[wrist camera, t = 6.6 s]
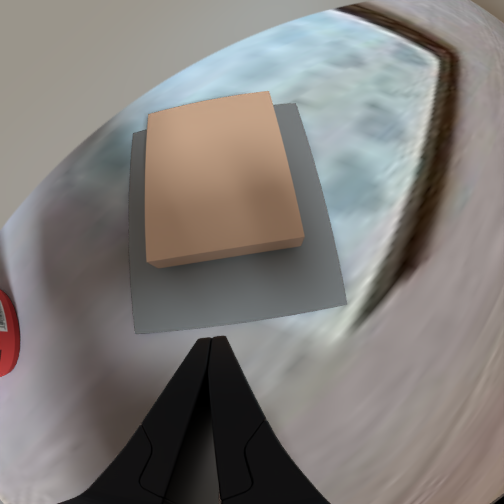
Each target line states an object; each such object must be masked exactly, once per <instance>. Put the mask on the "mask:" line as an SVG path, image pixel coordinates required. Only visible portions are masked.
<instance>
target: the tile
mask: <svg viewBox="0 0 504 504" xmlns="http://www.w3.org/2000/svg"><path fill="white" fill-rule="evenodd" d="M304 237H305V236H304V231H303V226H302V222H301V217H300V212H299V208H298V203H297V199H296V194H295V190H294V186H293V181H292V177H291V173H290V169H289V165H288V161H287V157H286V153H285V149H284V145H283V141H282V137H281V133H280V129H279V125H278V122H277V118H276V114H275V111H274V107H273V103H272V100H271V96H270V93H269V91H264V92H256V93H249V94H242V95H235V96H229V97H223V98H217V99H212V100H206V101H201V102H197V103H192V104H187V105H183V106H179V107H174V108H170V109H166V110H162V111H159V112H155V113H151V114H148V126H147V141H146V163H145V238H146V260H147V263H149V264H151V265H153V266H155V267H157V268H165V267H171V266H177V265H184V264H190V263H197V262H203V261H209V260H216V259H222V258H228V257H235V256H241V255H248V254H254V253H260V252H267V251H273V250H279V249H286V248H292V247H298V246H301V245H302V242H303V240H304Z"/></svg>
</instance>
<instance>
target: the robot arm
mask: <svg viewBox="0 0 504 504" xmlns="http://www.w3.org/2000/svg"><path fill="white" fill-rule="evenodd" d="M141 424H142V425H140V426H139V427H138V429H137V430H136V432H135V433H134V435H133V436H132V437H131V439H130V440H129V442H128V443H127V444H126V446H125V447H124V448H123V450H122V451H121V452H120V453H119V454H118V456H117V457H116V458H115V459H114V460H113V462H112V463H111V464H110V465H109V466H108V467H107V468H106V470H105V471H104V472H103V473H102V474H101V475H100V476H99V477H98V479H97V480H96V481H95V482H94V483H93V484H92V485H91V486H90V487H89V488H88V489H87V490H86V491H85V492H83V493H82V494H80V495H79V496H77V497H75V498H72V499H70V500H67V501H64V502H61V503H58V504H218V497H219V491H220V498H221V501H222V502H221V504H330V503H329V502H328V501H327V500H326V499H325V498H324V497H323V495H322V494H321V493H320V492H319V491H318V490H317V489H316V488H315V486H314V485H313V484H312V483H311V482H310V481H309V479H308V478H307V477H306V476H305V475H304V474H303V472H302V471H301V470H300V469H299V468H298V466H297V465H296V464H295V463H294V461H293V460H292V459H291V458H290V456H289V455H288V453H287V452H286V451H285V449H284V448H283V447H282V445H281V444H280V442H279V440H278V439H277V437H276V435H275V433H274V432H273V430H272V428H271V426H270V424H269V422H268V421H267V420H266V417H265V415H264V413H263V411H262V409H261V407H260V405H259V403H258V401H257V400H256V398H255V396H254V394H253V392H252V390H251V388H250V386H249V384H248V382H247V379H246V377H245V375H244V373H243V371H242V369H241V367H240V365H239V363H238V361H237V359H236V357H235V355H234V352H233V350H232V348H231V346H230V344H229V342H228V340H227V338H226V336H217V337H213V338H210V337H208V338H200V339H198V340H197V341H196V343H195V344H194V346H193V347H192V349H191V350H190V352H189V353H188V355H187V356H186V358H185V359H184V361H183V362H182V364H181V365H180V367H179V368H178V370H177V371H176V372H175V374H174V375H173V377H172V378H171V380H170V381H169V383H168V384H167V386H166V387H165V389H164V390H163V392H162V393H161V395H160V396H159V398H158V399H157V401H156V402H155V404H154V405H153V407H152V408H151V410H150V411H149V413H148V414H147V416H146V417H145V419H144V420H143V422H142V423H141ZM490 504H504V494H502V495H501V496H500V497H498V498H497V499H496V500H494V501H493V502H492V503H490Z"/></svg>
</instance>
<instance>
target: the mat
mask: <svg viewBox="0 0 504 504" xmlns="http://www.w3.org/2000/svg"><path fill="white" fill-rule="evenodd" d="M273 107H274V111H275V114H276V118H277V122H278V125H279V129H280V133H281V137H282V141H283V145H284V149H285V153H286V157H287V161H288V165H289V169H290V173H291V177H292V181H293V186H294V190H295V194H296V199H297V203H298V208H299V212H300V217H301V222H302V226H303V231H304V236H305V237H304V240H303V242H302V245H301V246H298V247H292V248H286V249H279V250H273V251H267V252H260V253H254V254H248V255H241V256H235V257H228V258H222V259H216V260H209V261H203V262H197V263H190V264H184V265H177V266H171V267H165V268H157V267H155V266H153V265H151V264H149V263H147V260H146V238H145V163H146V141H147V130H144V131H140V132H137V133H133V139H132V151H131V165H130V183H129V264H130V282H131V297H132V308H133V319H134V328H135V334H144V333H156V332H167V331H178V330H187V329H196V328H205V327H214V326H222V325H229V324H237V323H244V322H251V321H257V320H264V319H270V318H277V317H283V316H289V315H295V314H300V313H306V312H311V311H317V310H322V309H327V308H332V307H337V306H342V305H347V300H346V294H345V289H344V284H343V279H342V274H341V269H340V264H339V259H338V254H337V250H336V245H335V241H334V236H333V232H332V228H331V224H330V219H329V215H328V211H327V207H326V203H325V199H324V196H323V192H322V188H321V184H320V181H319V177H318V173H317V170H316V166H315V163H314V159H313V156H312V153H311V149H310V146H309V143H308V139H307V136H306V133H305V130H304V127H303V124H302V121H301V118H300V115H299V112H298V109H297V106H296V103H293V104H282V105H273Z"/></svg>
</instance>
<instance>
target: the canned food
mask: <svg viewBox="0 0 504 504" xmlns="http://www.w3.org/2000/svg"><path fill="white" fill-rule="evenodd" d="M19 350H20V331H19V325H18V320H17V316H16V312H15V309H14V306H13V304H12V302H11V300H10V299H9V297H8V296H7V294H5V293H4V292H3V291H2V290H1V289H0V377H2V376H4V375H6V374H8V373H9V372H11V371H12V370H13V369H14V367H15V365H16V363H17V360H18V357H19Z"/></svg>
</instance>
